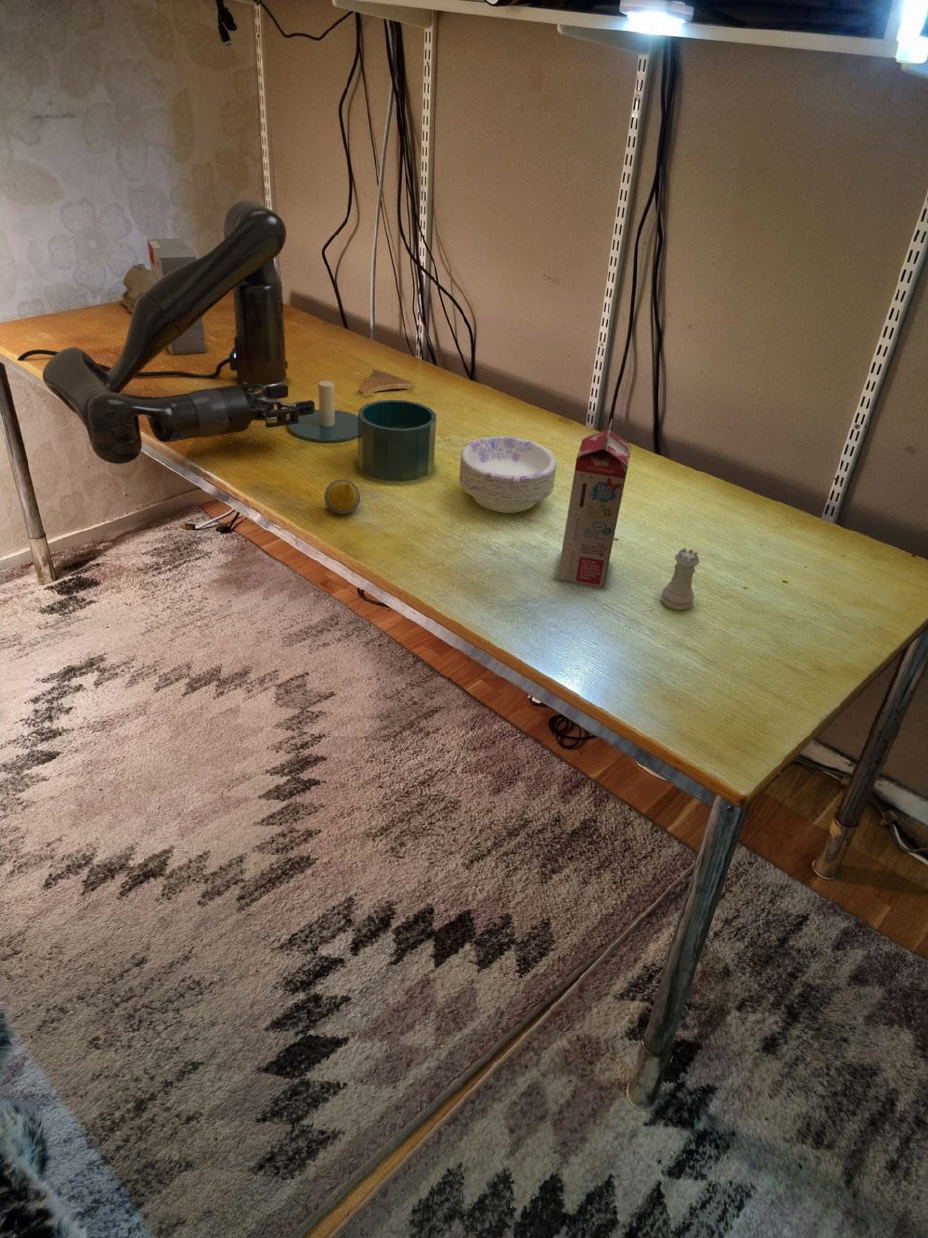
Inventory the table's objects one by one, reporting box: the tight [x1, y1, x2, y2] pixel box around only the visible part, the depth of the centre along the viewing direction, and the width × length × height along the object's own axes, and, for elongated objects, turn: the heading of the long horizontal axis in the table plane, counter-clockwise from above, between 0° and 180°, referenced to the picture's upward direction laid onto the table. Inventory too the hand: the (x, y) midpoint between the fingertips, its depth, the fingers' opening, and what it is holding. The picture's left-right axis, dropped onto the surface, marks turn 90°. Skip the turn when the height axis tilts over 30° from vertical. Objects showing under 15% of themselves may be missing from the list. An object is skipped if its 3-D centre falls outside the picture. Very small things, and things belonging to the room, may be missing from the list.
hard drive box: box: [146, 238, 206, 356], centre depth 186 cm, size 16×8×20 cm, turn 25°
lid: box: [287, 380, 358, 444], centre depth 157 cm, size 14×14×9 cm
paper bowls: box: [458, 436, 558, 514], centre depth 139 cm, size 15×15×8 cm
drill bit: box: [323, 478, 361, 516], centre depth 132 cm, size 5×5×10 cm
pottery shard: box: [358, 369, 412, 395], centre depth 177 cm, size 10×9×2 cm
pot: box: [357, 399, 437, 483], centre depth 146 cm, size 13×13×10 cm
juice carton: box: [556, 418, 632, 589], centre depth 119 cm, size 7×7×22 cm
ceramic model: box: [121, 263, 153, 314], centre depth 208 cm, size 14×11×10 cm
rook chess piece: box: [660, 547, 700, 611], centre depth 118 cm, size 4×4×8 cm
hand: (300, 398), depth 152 cm, fingers open, 8 cm apart
